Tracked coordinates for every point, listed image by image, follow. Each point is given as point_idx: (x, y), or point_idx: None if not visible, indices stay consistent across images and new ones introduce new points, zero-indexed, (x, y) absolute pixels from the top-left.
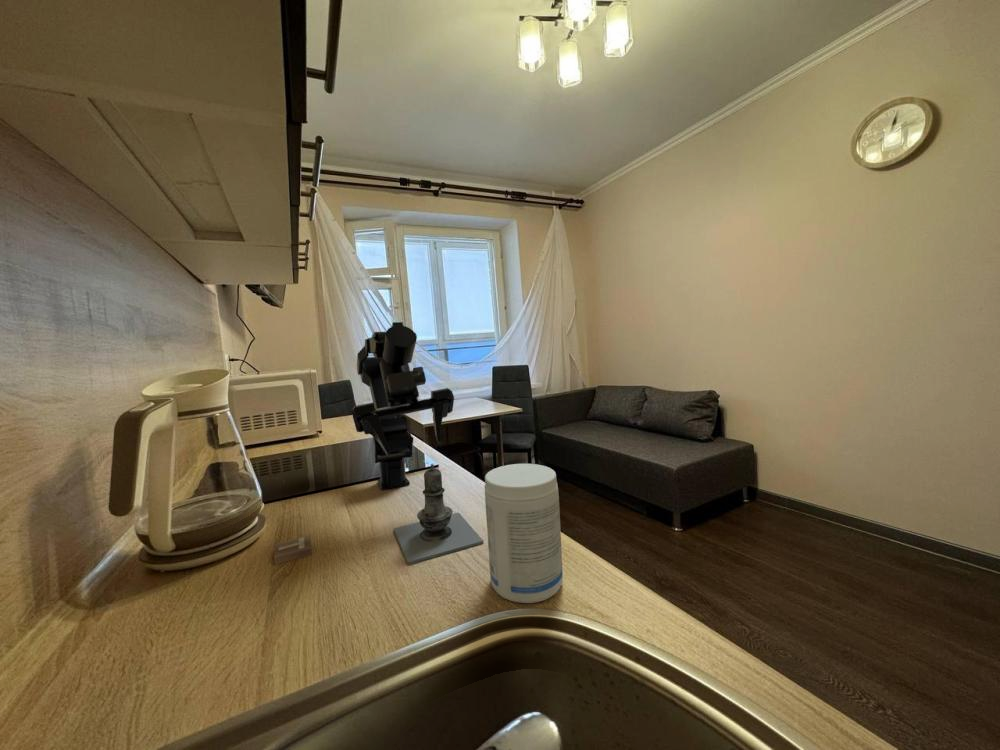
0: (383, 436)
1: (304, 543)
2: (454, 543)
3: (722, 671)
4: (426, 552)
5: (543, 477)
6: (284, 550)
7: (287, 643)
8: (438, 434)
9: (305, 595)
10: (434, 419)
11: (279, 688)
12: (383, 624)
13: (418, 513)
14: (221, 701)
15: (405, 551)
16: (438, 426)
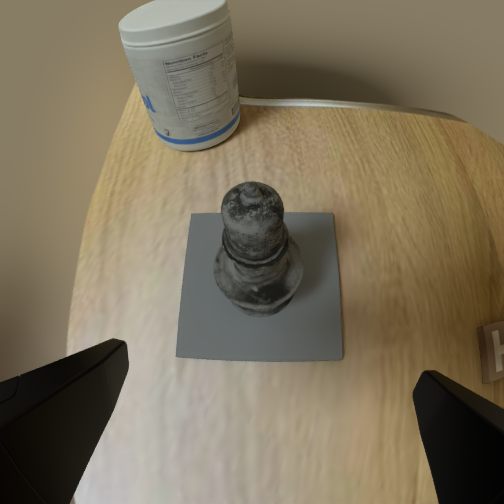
0: (491, 418)
1: (493, 349)
2: None
3: None
4: (297, 224)
5: (159, 1)
6: None
7: (445, 156)
8: (96, 354)
9: (457, 218)
10: (25, 458)
11: (430, 121)
12: (364, 133)
13: (297, 281)
14: (461, 132)
15: (332, 246)
16: (53, 372)
